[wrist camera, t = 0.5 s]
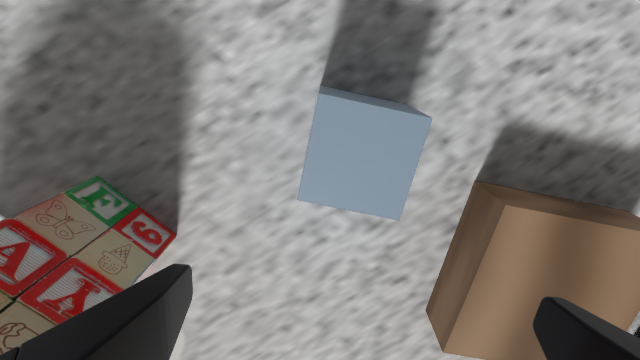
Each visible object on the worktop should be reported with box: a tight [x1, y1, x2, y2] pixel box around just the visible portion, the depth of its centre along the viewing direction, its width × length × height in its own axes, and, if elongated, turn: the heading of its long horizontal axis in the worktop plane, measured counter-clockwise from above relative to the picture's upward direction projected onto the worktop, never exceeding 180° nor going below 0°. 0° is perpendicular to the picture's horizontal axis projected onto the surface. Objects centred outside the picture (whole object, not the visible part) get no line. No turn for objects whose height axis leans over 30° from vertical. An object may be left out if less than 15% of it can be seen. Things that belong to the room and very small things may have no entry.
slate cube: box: [297, 85, 432, 220], centre depth 17 cm, size 5×5×5 cm
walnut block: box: [426, 181, 640, 360], centre depth 21 cm, size 10×10×4 cm
